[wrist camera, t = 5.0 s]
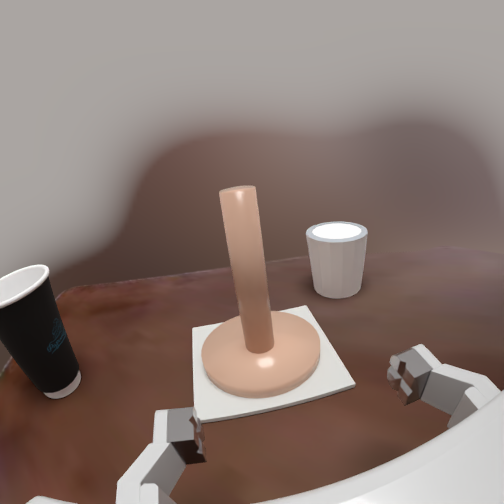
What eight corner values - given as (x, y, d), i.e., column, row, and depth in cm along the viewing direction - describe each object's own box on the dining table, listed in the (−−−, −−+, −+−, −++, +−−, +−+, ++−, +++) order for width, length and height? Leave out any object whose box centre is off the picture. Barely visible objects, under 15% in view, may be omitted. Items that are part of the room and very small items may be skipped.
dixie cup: (104, 388, 22) (52, 280, 18) (37, 421, 17) (-30, 318, 13) (84, 348, 28) (45, 257, 24) (28, 375, 23) (-19, 286, 19)
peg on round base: (300, 312, 30) (288, 171, 24) (338, 379, 20) (341, 191, 15) (202, 332, 29) (169, 191, 23) (207, 408, 19) (150, 223, 14)
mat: (306, 308, 31) (306, 305, 31) (354, 387, 20) (355, 383, 20) (193, 331, 30) (192, 327, 29) (196, 424, 18) (194, 420, 18)
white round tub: (297, 289, 35) (292, 233, 32) (331, 268, 39) (329, 217, 36) (344, 308, 30) (345, 246, 27) (375, 282, 34) (378, 226, 31)
